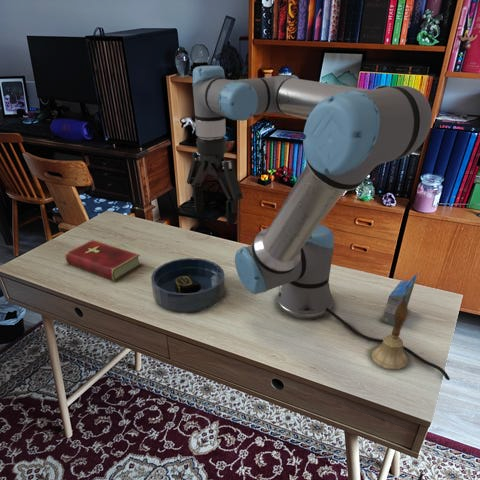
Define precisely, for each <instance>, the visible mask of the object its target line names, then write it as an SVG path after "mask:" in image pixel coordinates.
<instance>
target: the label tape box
mask: <svg viewBox="0 0 480 480" xmlns="http://www.w3.org/2000/svg"><path fill="white" fill-rule="evenodd" d="M417 275H418V272H417V271H416V273H414V275H413V276H412V278H411V279H410V280H400V281H399V282H398V283H397V285H396V287H395V288H394V289H393V290H392V291H391V293H390V294H388V298H387V302H386V305H385V309H384V313H383V317H382V322H384V323H386V324H389V325H391V326H394V314H395V311H396V309H397V307H398V306H399V304H400V303H401V301H406V302H407V307H408V306H409V303H410V299H411V296H412V293H413V289H414V287H415V283H416V281H417Z"/></svg>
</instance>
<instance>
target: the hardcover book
mask: <svg viewBox="0 0 480 480" xmlns="http://www.w3.org/2000/svg"><path fill="white" fill-rule="evenodd" d="M64 257H65V261H66V263H67V264H68V265H70V266H73V267H75V268H78V269H80V270H83V271H86V272H88V273H90V274H94V275H97V276H98V277H99V276H100V277H102V278H105V279H108V280H110V281H113V282H117V281H118V280H120V279H122V278H124V277H125V276H127V275H128V274H130V273H132V272H133V271H135V270H137V269H138V268H140V267H141V266H142V264H140V262H139V261H140V260H139V257H140V254H138V253H136V252H132V251H129V250H126V249H123V248H120V247H117V246H113V245H111V244H107V243H105V242H101V241H99V240H95V239H91V240H89V241H87V242H85V243H83V244H81V245H79V246H77V247H75V248H73V249H71V250H68V251H67V252H65V254H64Z"/></svg>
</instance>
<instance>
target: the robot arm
mask: <svg viewBox="0 0 480 480" xmlns="http://www.w3.org/2000/svg"><path fill="white" fill-rule="evenodd" d="M191 85H192V95H193V106H194V107H193V109H194V124H195V135H196V137H197V138H196V151H193V152H192V153H191V164H190V167H189V171H188V175H187V179H186V183H187V185H189V186H190V187H191V188H192V197H193V202H194V203H193V204H194V211H195V212H200V211H203V210H205V203H204V191H203V190H204V188H203V186H202V183H203V181H204V180H205V178H206V177H207V175H211V176H214V178H215V179H216V180H218V182H219V184H220V187H221V188H222V190H223V192H224V194H225V196H226V198H227V200H226V201H225V212H226V214H225V216H226V225H227V226H231V225H233V224H236V223H237V212H238V201H240V200H243V198H244V196H243V193H242V190H241V186H240V183H239V181H238V176H237V174H236V171H235V164H234V160H233V159H230V160H225V159H226V158H225V154H226V152H227V137H226V134H227V130H226V129H227V127H226V119H229V120H232V121H239V122H243V121H247V120H249V119H251V117H253V116H257V115H264V114H270V113H271V114H272V113H279V114H283V115H288V116H292V117H296V118H300V119H303V120H306V122H305V125H304V127H303V128H304V129H303V135H304V136H305V138H304V139H303V140H302V145H303V151H304V158H305V163H306V165H305V167H304V168H303V170H302V171H301V173H300V175H299V176H298V178H297V180H296V182H295V184H294V185H293V187H292V189H291V190H290V192H289V193H288V195H287V196H286V198H285V200H284V202H283V203H282V205H281V207H280V209H279V210H278V212H277V214H276V215H275V217H274V219H273V220H272V222H271V224H270V226H269V227H267V228H264V229H261V230H260V231H259V232H258V233H257V234H256V235H255V238H254V239H253V241H252V243H251V244H250V245H248V246H243V247H241V248H239V249H237V250H236V251H235V255H234V266H235V269H236V273H237V277H238V278H239V280H240V282H241V284H242V285H243V287H244V288H245V289H246V291H248V292H249V293H251V294H253V295H259V294H263V293H267V292H268V291H271V290H273V289H276V288H278V291H279V292H278V294H277V306H278V309H279V310H280V311H281V312H282V313H284V314H285V315H287V316H289V317H291V318H295V319H299V320H316V319H320V318H323V317H325V316H327V315H328V314H330V315H331V316H333V317H334V318H335V319H336V320H338V321H339V322H340V323H341V324H343V325H344V326H346V327H347V328H348V329H349V330H350V331H351V332H353V333H354V334H355V335H357V336H358V337H360V338H363V339H365V340H367V341H371V342H375V343H381V344H382V342H383V340H384V339H380V338H375V337H370V336H368V335H365V334H363V333H362V332H359V331H358V330H357V329H355V328H354V327H353V326H352V325H351V324H350V323H348V322H346V321H345V320H344V319H342V317H340V316H339V315H338V314H337V313H336V312H334V311H332V309H333V303H334V298H333V295H332V292H331V288H330V287H331V286H330V276H331V268H332V262H333V261H332V260H333V256H334V255H333V253H334V248H335V245H334V243H335V234H334V232H333V231H332V230H331V229H330V228H329V227H327V226H325V225H322V224H321V223H322V222H323V221H324V220H325V218H326V217H327V215H328V214H329V213H330V212H331V211H332V209H334V206H335V205H336V204H337V203H338V201H339V200H340V198H341V197H342V196H343V195H344V194H345V192H350V191H353V190H356V189H358V188H359V187H360V186H361V185H362V184H363V183H364V181H365V180H366V179H367V177H368V176H369V175H370V174H371V172H372V171H373V170H374V169H375V168H376V167H377V166H379V165H381V164H385V163H389V162H392V161H397V160H400V159H403V158H406V157H408V156H410V155H412V153H415V152H416V151H417V150H418V149H419V148H420V147H421V146H422V144H423V143H424V142H425V140H426V139H427V137H428V135H429V133H430V131H431V126H432V120H433V119H432V118H433V114H432V108H431V105H430V103H429V100H428V99H427V97H426V96H425V95H424V94H423V92H421V91H420V90H418V89H417V88H415V87H412V86H409V85H385V84H384V85H378V86H376V87H374V88H372V89H369V88H368V89H367V88H362V87H356V86H355V87H353V86H350V85H349V86H348V85H341V84H335V83H328V82H321V81H314V80H308V79H300V78H299V77H298V76H297V75H294V74H280V75H275V76H266V77H256V78H244V79H226V76H225V70H224V68H223V66H220V65H200V66H196V67H194V68H193V70H192V84H191ZM403 351H404V352H407V353H408V354H409V355H411V356H412V357H414V358H415V359H416V360H418V361H420V362H421V363H423V364H425V365H426V366H429V367H431V368H434V369H436V370H437V371H439V372H440V373H441V374H442V375H443V377H444V378H445V380H446V381H450V379H451V378H450V376H449V375H448V373H447V372H446V371H445V370H444V369H443V368H442V367H440V366H439V365H437V364H436V363H433V362H430V361H428V360H426V359H424V358H423V357H421V356H420V355H419V354H417V353H415V352H414V351H412V350H411V349H410V348H408V347H406V346H404V345H403ZM423 477H424V474H423V473H422V472H420V473H419V476H418V478H417V480H423Z"/></svg>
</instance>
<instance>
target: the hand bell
mask: <svg viewBox="0 0 480 480" xmlns="http://www.w3.org/2000/svg"><path fill="white" fill-rule="evenodd" d="M408 312H409V311H408V306H407V302H406V301H401V303H400V304H399V306H398V307H397V309H396V311H395V314H394V325H393V328H392V332H391V334H389V335H386V336H384V337H383V339H382V340H383V342H382V343H381V344H380V346H378V347H376V348H374V350H372V351H371V359H372V361H373V362H374V363H375V364H376V365H378V366H379V367H381V368H384V369H387V370H393V371H394V370H395V371H396V370H401V369H404V368H405V367H406V366H407V365H408V361H409V359H408V356H407V355H406V354H405V351H404V350H403V346H404V340H403V339H402V338H401V337H400V335H401V329H402V326H403V325H404V323H405V321H406V320H407V318H408V317H407V316H408Z"/></svg>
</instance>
